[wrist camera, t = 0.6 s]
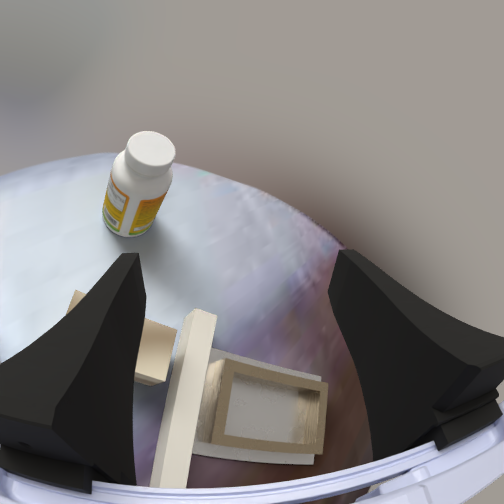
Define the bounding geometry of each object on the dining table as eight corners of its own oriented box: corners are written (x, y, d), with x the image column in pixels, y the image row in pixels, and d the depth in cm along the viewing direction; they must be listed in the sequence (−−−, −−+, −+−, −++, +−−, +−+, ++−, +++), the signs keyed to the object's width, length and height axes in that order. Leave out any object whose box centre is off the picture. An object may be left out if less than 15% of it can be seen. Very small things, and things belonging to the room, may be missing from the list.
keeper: (311, 464, 27) (326, 465, 25) (190, 453, 22) (200, 456, 21) (319, 377, 32) (333, 373, 31) (210, 347, 28) (220, 342, 26)
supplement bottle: (156, 201, 32) (188, 136, 25) (148, 244, 30) (179, 182, 22) (109, 188, 30) (129, 117, 23) (95, 231, 27) (110, 161, 20)
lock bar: (150, 386, 24) (165, 381, 20) (61, 353, 21) (56, 341, 17) (160, 343, 26) (177, 329, 22) (75, 310, 23) (75, 289, 20)
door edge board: (166, 530, 17) (177, 542, 15) (143, 527, 17) (151, 539, 14) (204, 325, 29) (217, 315, 27) (184, 317, 28) (195, 308, 26)
